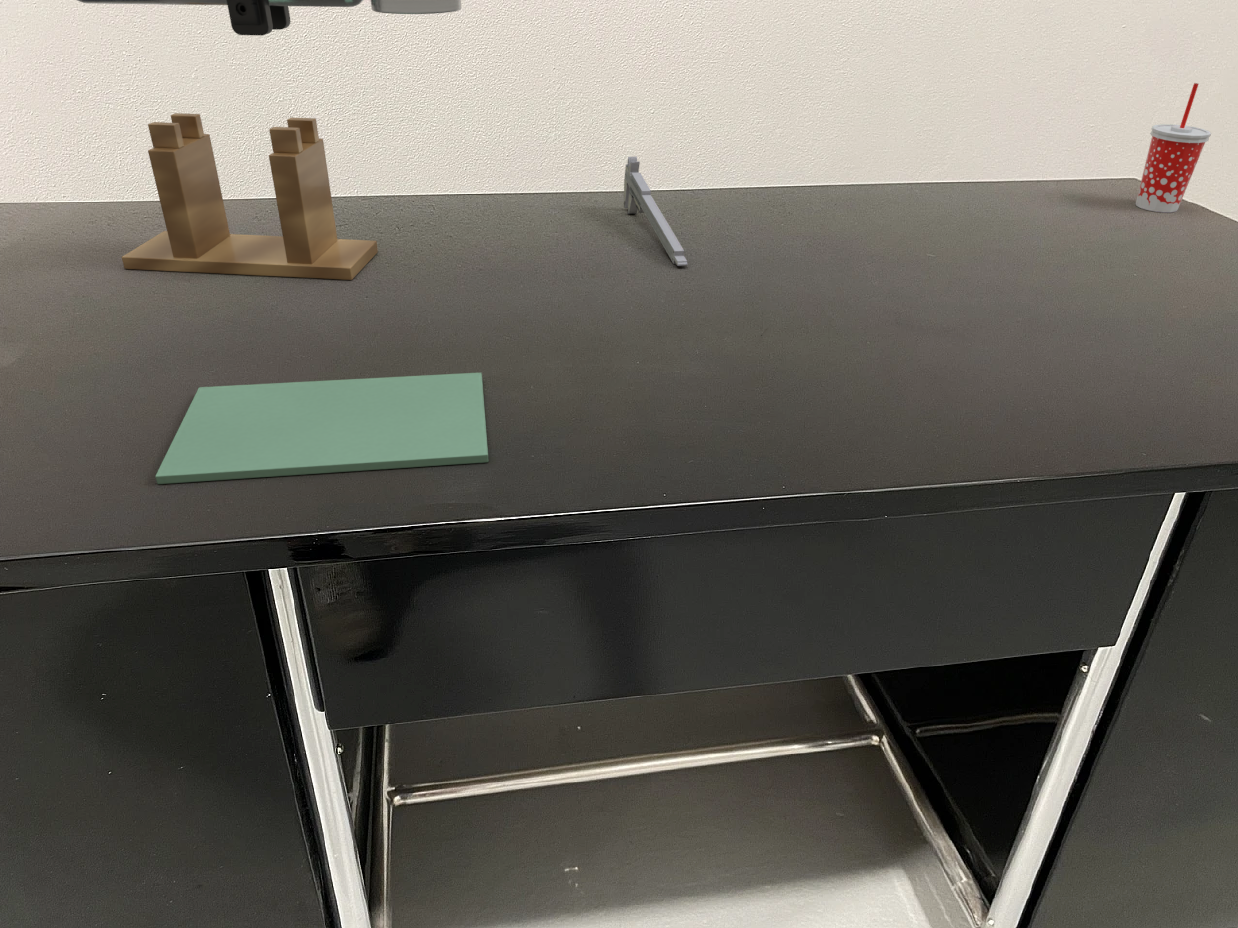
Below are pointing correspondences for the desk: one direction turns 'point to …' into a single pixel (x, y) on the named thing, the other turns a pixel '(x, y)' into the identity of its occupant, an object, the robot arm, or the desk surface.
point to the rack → (202, 220)
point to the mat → (328, 428)
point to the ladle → (322, 4)
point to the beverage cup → (1170, 163)
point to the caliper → (650, 210)
